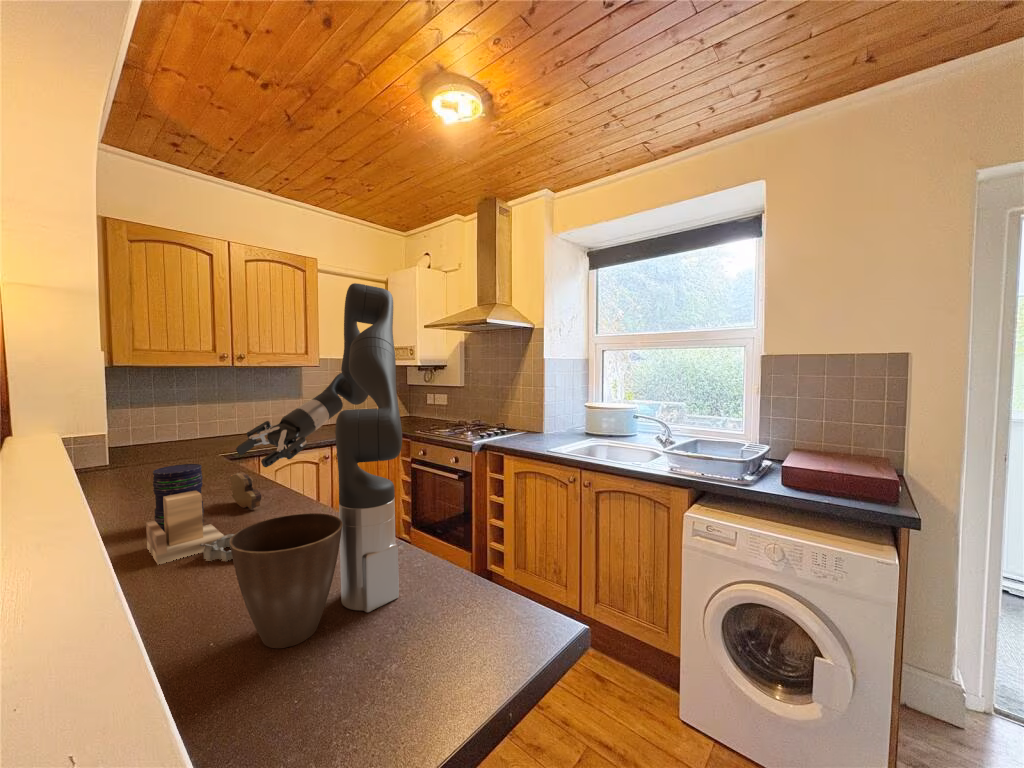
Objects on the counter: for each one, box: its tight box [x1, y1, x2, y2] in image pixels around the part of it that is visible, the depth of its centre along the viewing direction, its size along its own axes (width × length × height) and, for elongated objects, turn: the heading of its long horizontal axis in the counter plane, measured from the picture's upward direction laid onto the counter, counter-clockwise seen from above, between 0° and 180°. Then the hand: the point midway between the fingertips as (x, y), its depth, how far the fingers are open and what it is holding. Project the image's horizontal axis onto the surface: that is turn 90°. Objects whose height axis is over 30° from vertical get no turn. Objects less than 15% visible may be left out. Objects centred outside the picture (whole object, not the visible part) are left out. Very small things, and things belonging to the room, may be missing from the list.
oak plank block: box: [163, 491, 204, 546], centre depth 93 cm, size 4×6×10 cm
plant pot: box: [229, 512, 342, 649], centre depth 63 cm, size 15×15×16 cm
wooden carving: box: [228, 472, 262, 510], centre depth 121 cm, size 16×5×10 cm, turn 58°
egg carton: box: [200, 533, 235, 562], centre depth 90 cm, size 11×8×4 cm
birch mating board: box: [145, 519, 225, 566], centre depth 94 cm, size 12×12×6 cm
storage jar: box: [152, 463, 205, 532], centre depth 106 cm, size 10×10×15 cm
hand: (250, 458), depth 97 cm, fingers open, 8 cm apart
